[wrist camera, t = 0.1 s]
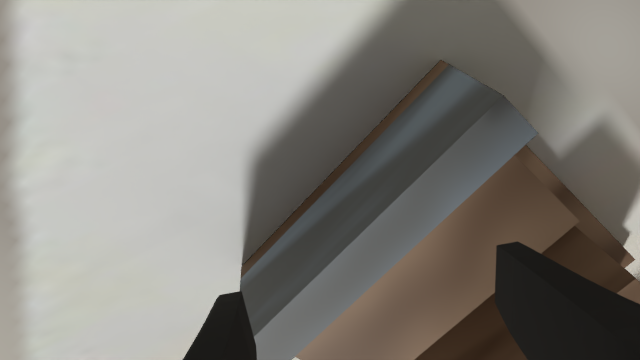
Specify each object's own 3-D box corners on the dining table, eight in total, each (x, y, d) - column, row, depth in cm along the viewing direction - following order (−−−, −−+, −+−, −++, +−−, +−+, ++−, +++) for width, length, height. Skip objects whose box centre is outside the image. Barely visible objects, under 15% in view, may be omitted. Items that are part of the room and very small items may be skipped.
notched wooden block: (622, 249, 26) (714, 323, 21) (440, 394, 30) (479, 489, 25) (440, 59, 21) (503, 95, 15) (241, 266, 24) (235, 355, 19)
